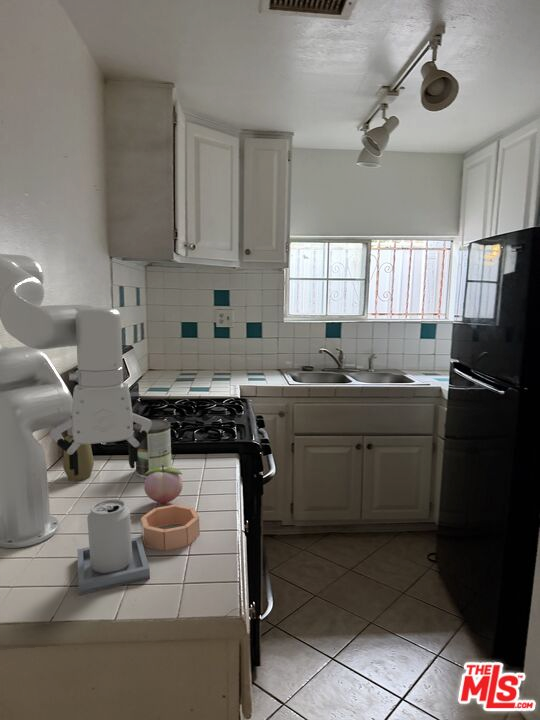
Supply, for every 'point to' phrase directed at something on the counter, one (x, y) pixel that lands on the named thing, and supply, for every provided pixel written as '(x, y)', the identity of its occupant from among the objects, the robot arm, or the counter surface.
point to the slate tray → (97, 581)
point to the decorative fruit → (163, 484)
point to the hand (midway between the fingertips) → (104, 469)
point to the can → (109, 536)
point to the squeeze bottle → (79, 460)
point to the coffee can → (154, 447)
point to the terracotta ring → (172, 536)
